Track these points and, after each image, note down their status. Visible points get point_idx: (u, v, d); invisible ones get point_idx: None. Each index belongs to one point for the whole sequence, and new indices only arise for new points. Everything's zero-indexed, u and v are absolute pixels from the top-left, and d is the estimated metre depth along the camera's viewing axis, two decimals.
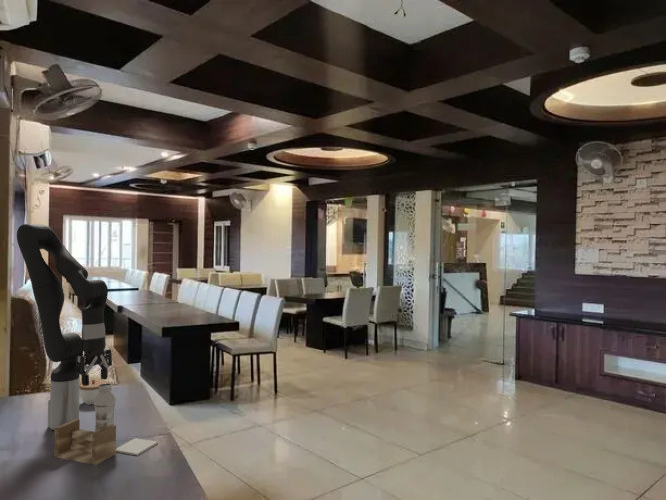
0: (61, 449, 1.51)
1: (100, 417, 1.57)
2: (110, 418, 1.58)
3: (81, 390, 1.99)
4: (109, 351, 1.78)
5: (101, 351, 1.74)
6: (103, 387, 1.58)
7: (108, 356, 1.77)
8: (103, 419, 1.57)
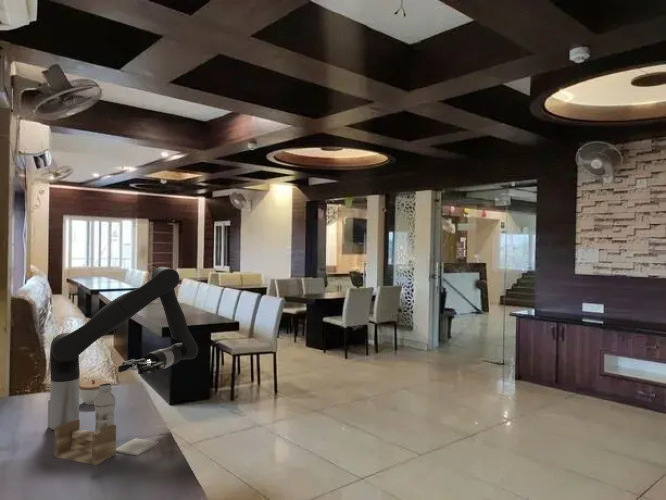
0: (61, 449, 1.51)
1: (100, 417, 1.57)
2: (110, 418, 1.58)
3: (81, 390, 1.99)
4: None
5: None
6: (103, 387, 1.58)
7: (131, 366, 1.79)
8: (103, 419, 1.57)
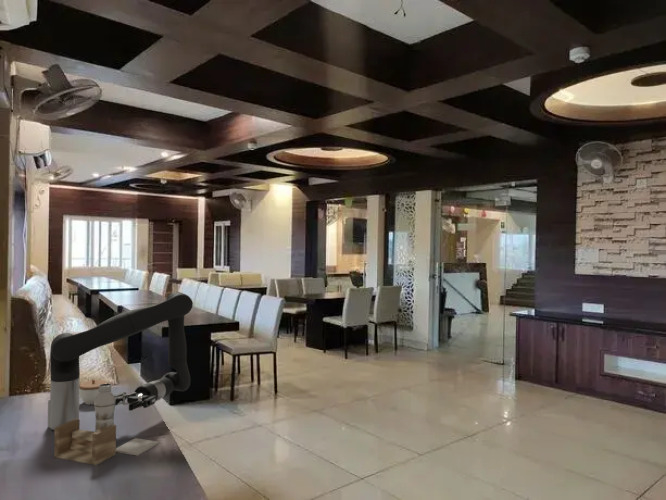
0: (61, 449, 1.51)
1: (100, 417, 1.57)
2: (110, 418, 1.58)
3: (81, 390, 1.99)
4: (124, 399, 1.77)
5: None
6: (103, 387, 1.58)
7: (121, 399, 1.75)
8: (103, 419, 1.57)
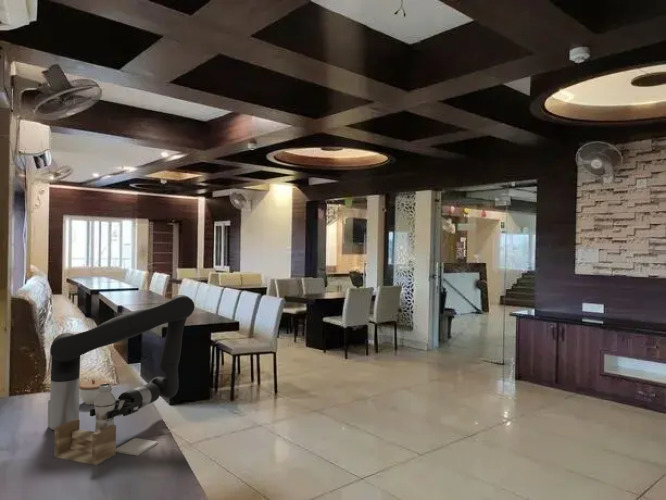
0: (61, 449, 1.51)
1: (100, 417, 1.57)
2: None
3: (81, 390, 1.99)
4: None
5: None
6: (103, 387, 1.58)
7: None
8: (103, 419, 1.57)
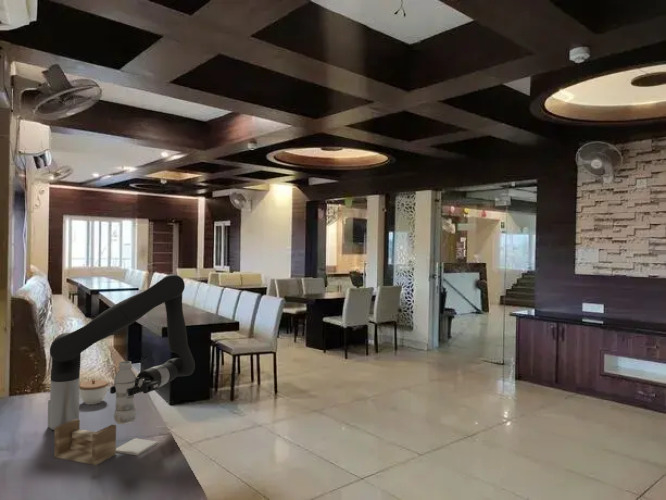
0: (61, 449, 1.51)
1: (120, 394, 1.57)
2: None
3: (81, 390, 1.99)
4: None
5: None
6: (123, 364, 1.57)
7: None
8: (124, 396, 1.57)
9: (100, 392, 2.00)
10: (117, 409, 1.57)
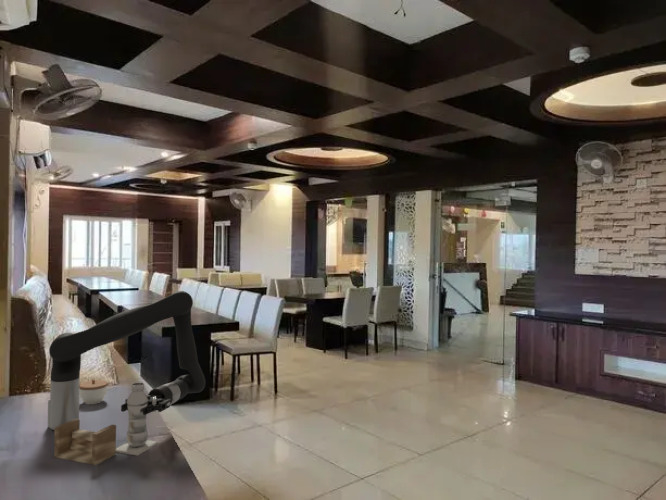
0: (61, 449, 1.51)
1: (133, 416, 1.56)
2: (143, 417, 1.58)
3: (81, 390, 1.99)
4: None
5: None
6: (136, 386, 1.57)
7: None
8: (136, 418, 1.56)
9: (100, 392, 2.00)
10: (129, 431, 1.57)
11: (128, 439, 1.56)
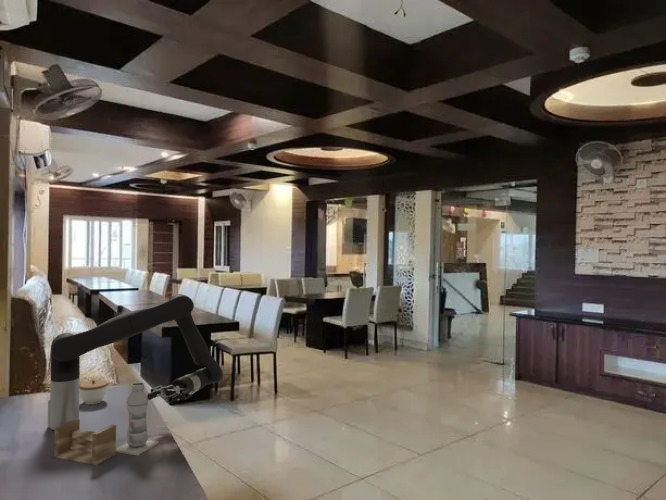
0: (61, 449, 1.51)
1: (133, 416, 1.56)
2: (143, 417, 1.58)
3: (81, 390, 1.99)
4: None
5: None
6: (136, 386, 1.57)
7: (159, 392, 1.79)
8: (136, 418, 1.56)
9: (100, 392, 2.00)
10: (129, 431, 1.57)
11: (128, 439, 1.56)
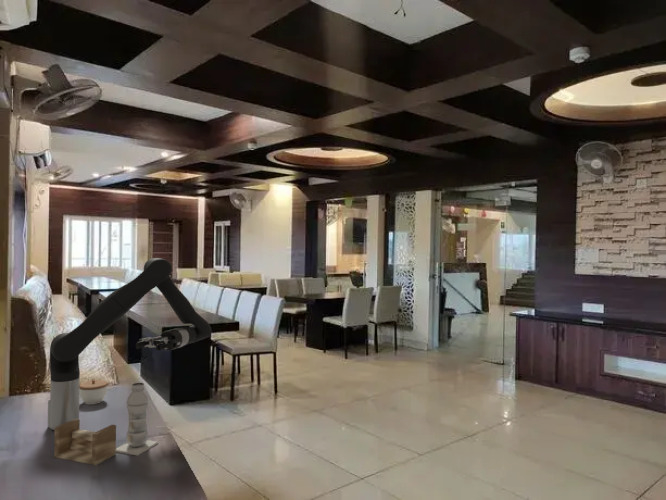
0: (61, 449, 1.51)
1: (133, 416, 1.56)
2: (143, 417, 1.58)
3: (81, 390, 1.99)
4: None
5: None
6: (136, 386, 1.57)
7: (147, 343, 1.82)
8: (136, 418, 1.56)
9: (100, 392, 2.00)
10: (129, 431, 1.57)
11: (128, 439, 1.56)
